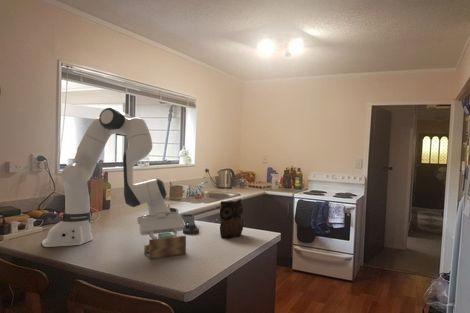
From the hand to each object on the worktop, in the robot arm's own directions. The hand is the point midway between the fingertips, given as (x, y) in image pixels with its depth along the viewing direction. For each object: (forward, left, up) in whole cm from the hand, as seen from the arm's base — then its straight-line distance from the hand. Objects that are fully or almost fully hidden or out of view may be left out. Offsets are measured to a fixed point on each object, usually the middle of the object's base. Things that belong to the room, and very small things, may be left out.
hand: (165, 240), depth 151 cm
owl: (+41, +16, -6) cm, 44 cm away
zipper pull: (+27, +39, -6) cm, 48 cm away
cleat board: (0, +1, -6) cm, 6 cm away
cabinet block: (0, 0, -5) cm, 5 cm away
